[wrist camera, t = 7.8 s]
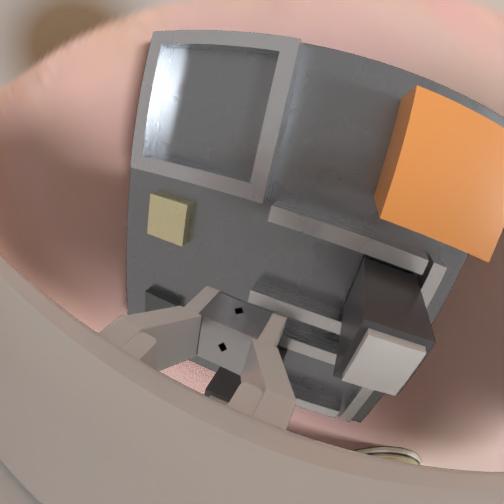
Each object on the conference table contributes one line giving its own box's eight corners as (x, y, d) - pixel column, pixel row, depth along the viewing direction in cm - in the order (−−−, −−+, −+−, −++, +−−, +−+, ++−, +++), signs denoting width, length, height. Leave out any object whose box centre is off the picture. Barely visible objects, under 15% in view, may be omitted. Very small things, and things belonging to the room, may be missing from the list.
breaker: (289, 345, 18) (259, 418, 13) (276, 375, 19) (247, 444, 14) (244, 328, 19) (202, 394, 13) (235, 360, 20) (197, 422, 15)
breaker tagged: (416, 276, 14) (437, 349, 9) (392, 321, 15) (397, 402, 10) (364, 257, 14) (363, 325, 9) (344, 305, 16) (331, 383, 11)
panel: (495, 121, 11) (521, 121, 8) (362, 403, 21) (359, 434, 18) (171, 40, 15) (141, 30, 12) (142, 316, 25) (120, 336, 22)
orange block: (489, 139, 10) (528, 144, 7) (460, 231, 12) (488, 262, 9) (400, 98, 11) (417, 85, 8) (373, 196, 13) (379, 218, 10)
